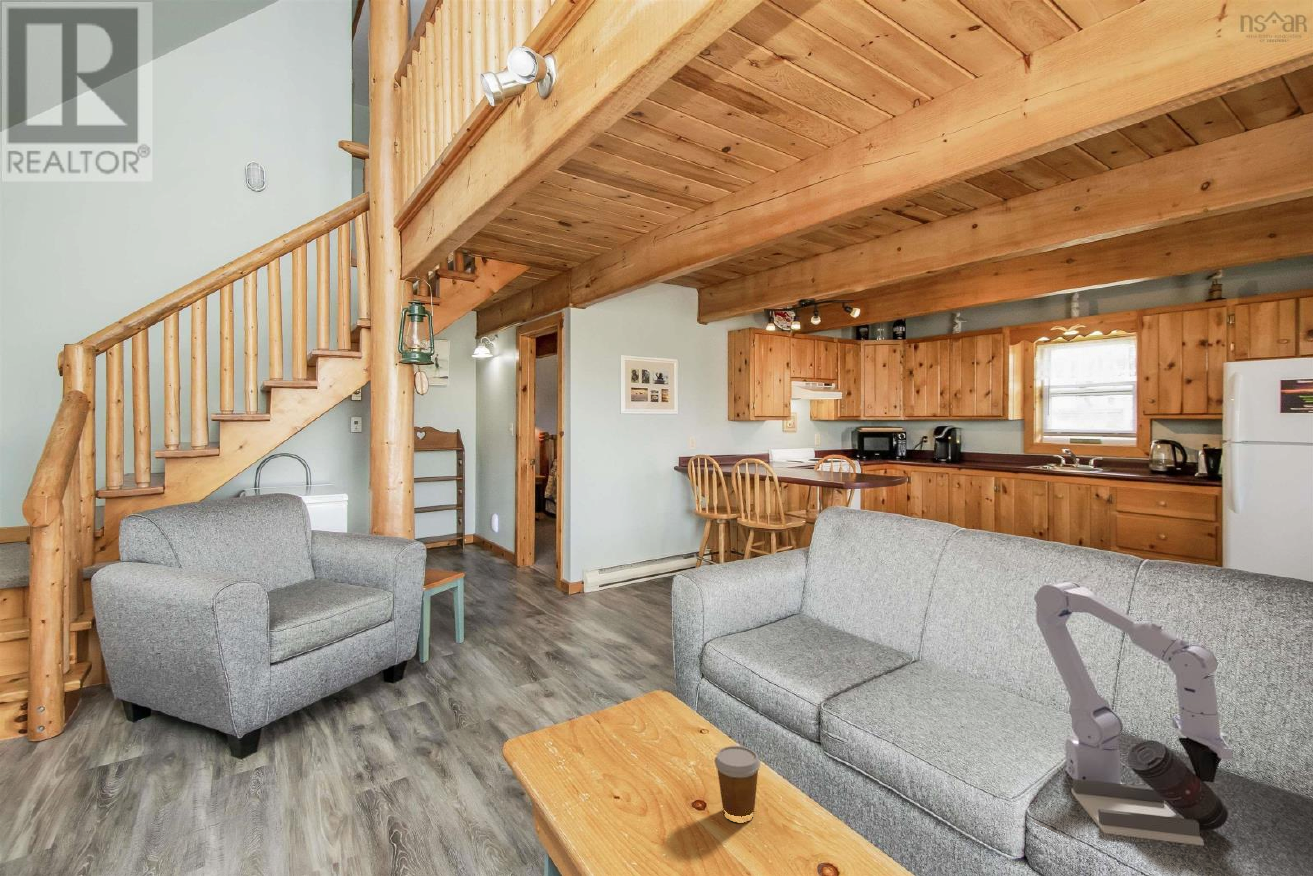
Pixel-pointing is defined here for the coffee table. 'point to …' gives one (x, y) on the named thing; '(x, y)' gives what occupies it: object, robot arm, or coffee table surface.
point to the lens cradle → (1134, 812)
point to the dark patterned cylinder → (1177, 784)
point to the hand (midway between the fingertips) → (1205, 780)
